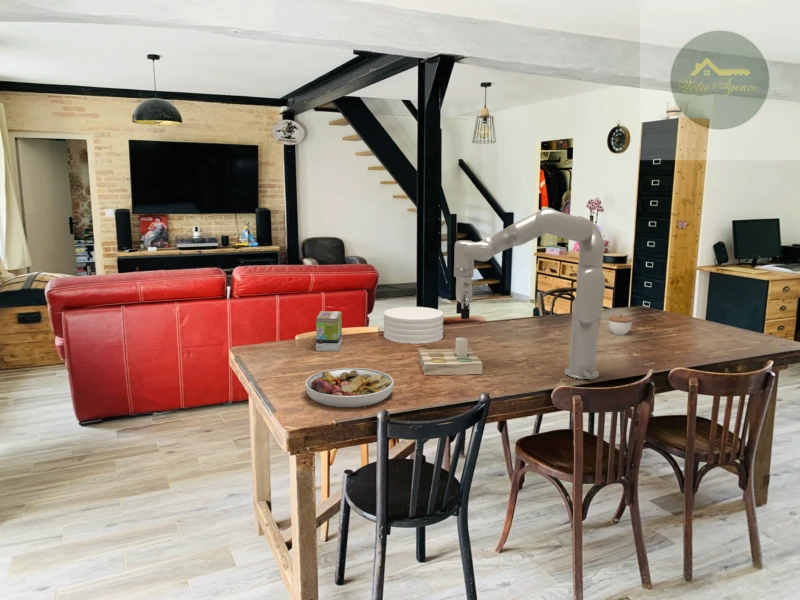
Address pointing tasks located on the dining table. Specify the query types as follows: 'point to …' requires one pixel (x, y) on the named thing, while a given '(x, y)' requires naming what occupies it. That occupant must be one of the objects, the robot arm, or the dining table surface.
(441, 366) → the socket block
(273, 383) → the dining table surface
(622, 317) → the lidded jar
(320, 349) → the tea box
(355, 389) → the bowl
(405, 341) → the plate stack
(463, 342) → the plug
